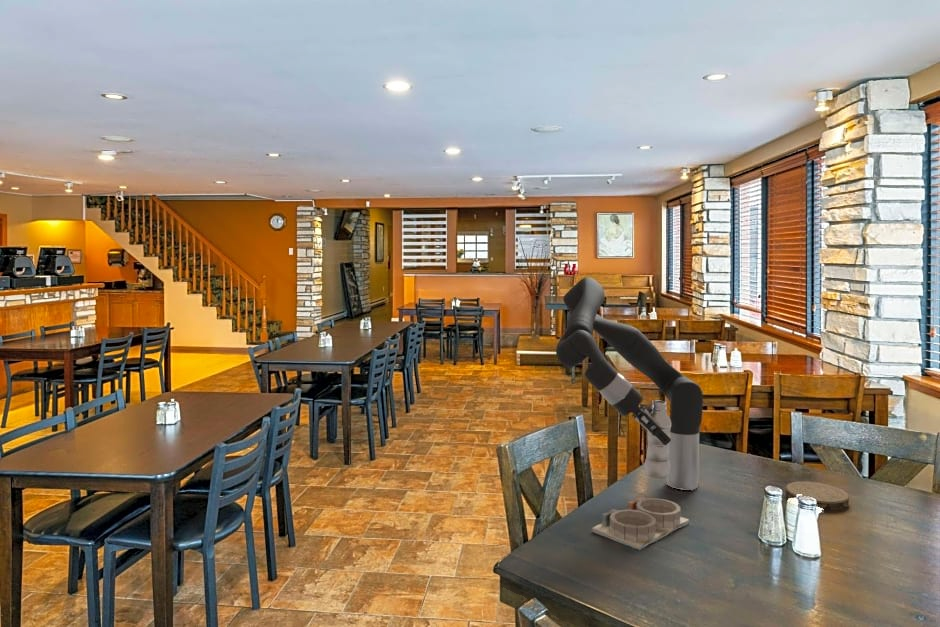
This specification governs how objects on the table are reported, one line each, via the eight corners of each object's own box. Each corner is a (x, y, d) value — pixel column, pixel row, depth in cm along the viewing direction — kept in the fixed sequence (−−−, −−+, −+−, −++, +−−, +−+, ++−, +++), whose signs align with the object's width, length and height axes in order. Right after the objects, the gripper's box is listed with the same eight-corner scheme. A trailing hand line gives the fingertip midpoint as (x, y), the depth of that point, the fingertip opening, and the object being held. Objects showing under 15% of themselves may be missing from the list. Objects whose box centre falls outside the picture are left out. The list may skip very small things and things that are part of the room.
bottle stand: (643, 508, 179) (643, 492, 178) (689, 523, 168) (689, 506, 168) (591, 532, 164) (592, 514, 163) (638, 550, 153) (639, 532, 153)
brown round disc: (861, 506, 180) (861, 496, 180) (822, 516, 174) (823, 505, 173) (810, 487, 195) (811, 478, 194) (773, 496, 188) (773, 486, 188)
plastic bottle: (666, 473, 171) (669, 399, 169) (672, 481, 164) (674, 405, 162) (642, 472, 172) (644, 398, 170) (646, 481, 165) (648, 404, 163)
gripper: (605, 397, 174) (648, 440, 174) (613, 410, 160) (660, 457, 160) (625, 378, 173) (668, 421, 174) (636, 389, 159) (683, 436, 159)
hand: (664, 438), depth 167 cm, fingers closed on plastic bottle, 6 cm apart
